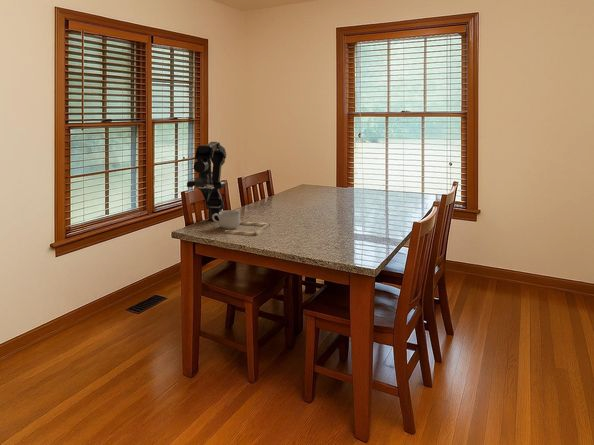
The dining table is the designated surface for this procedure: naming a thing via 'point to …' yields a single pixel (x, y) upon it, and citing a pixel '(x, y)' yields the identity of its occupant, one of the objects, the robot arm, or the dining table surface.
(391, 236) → the dining table surface
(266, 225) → the frame
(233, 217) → the teacup
